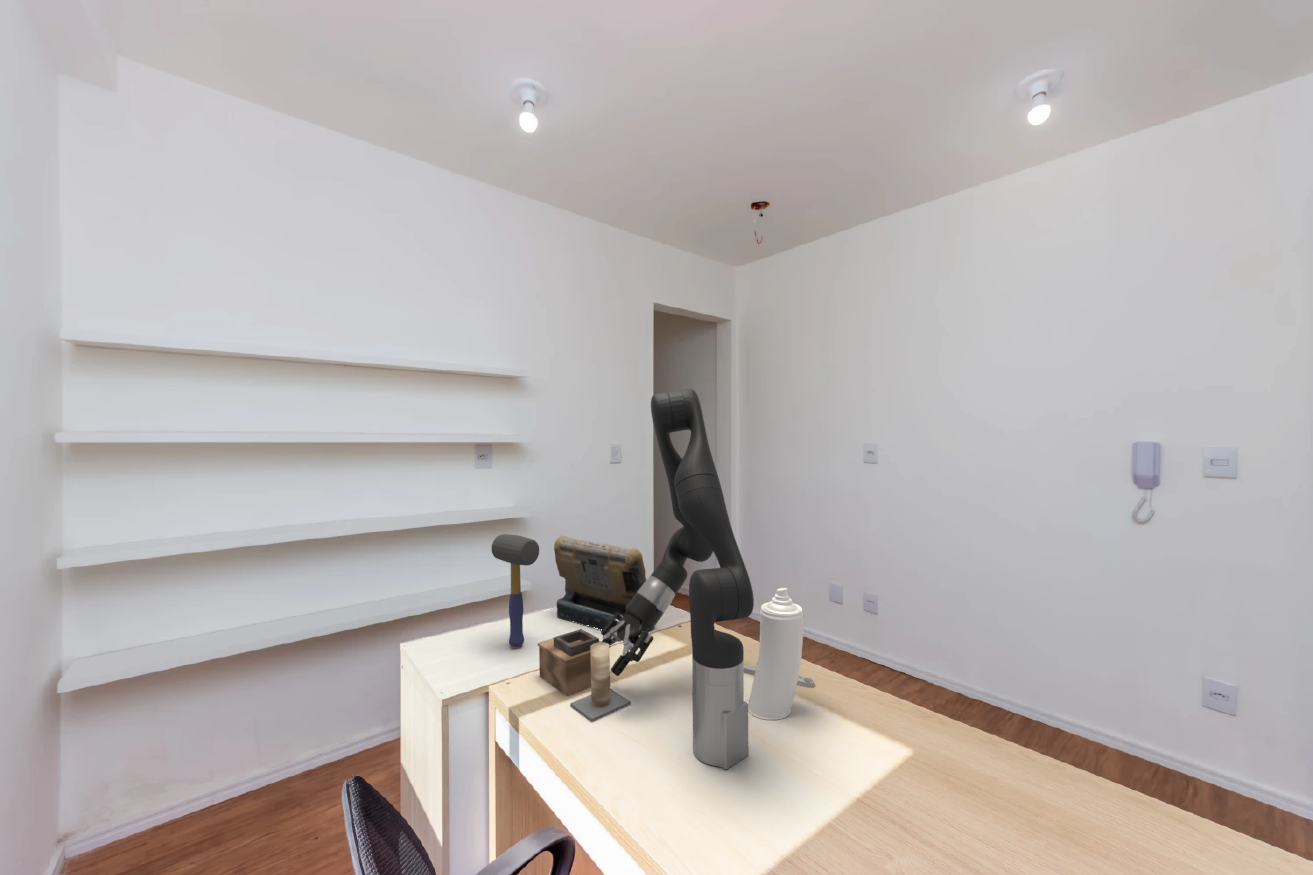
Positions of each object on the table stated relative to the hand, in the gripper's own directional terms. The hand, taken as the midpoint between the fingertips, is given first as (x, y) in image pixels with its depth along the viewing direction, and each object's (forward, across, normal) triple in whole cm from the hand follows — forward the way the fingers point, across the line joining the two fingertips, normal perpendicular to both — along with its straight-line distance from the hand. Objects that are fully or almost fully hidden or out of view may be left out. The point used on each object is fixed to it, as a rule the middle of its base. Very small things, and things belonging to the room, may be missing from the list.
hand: (604, 665), depth 111 cm
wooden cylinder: (+6, 0, +5) cm, 8 cm away
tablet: (-8, -42, +20) cm, 47 cm away
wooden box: (+7, -14, +5) cm, 16 cm away
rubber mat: (+7, 0, +5) cm, 8 cm away
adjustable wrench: (-19, +8, +32) cm, 38 cm away
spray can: (-15, +20, +27) cm, 37 cm away
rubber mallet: (+11, -38, +1) cm, 40 cm away
